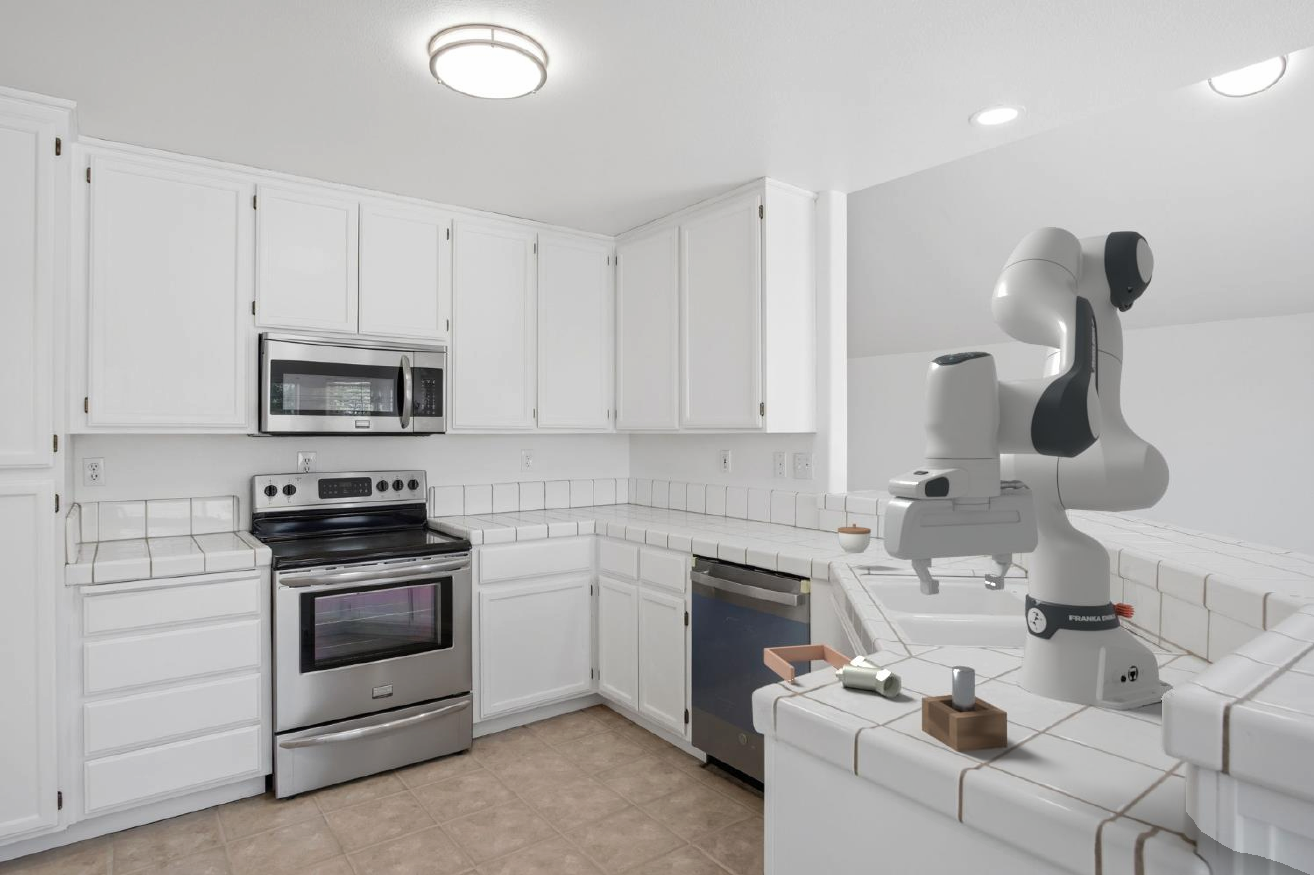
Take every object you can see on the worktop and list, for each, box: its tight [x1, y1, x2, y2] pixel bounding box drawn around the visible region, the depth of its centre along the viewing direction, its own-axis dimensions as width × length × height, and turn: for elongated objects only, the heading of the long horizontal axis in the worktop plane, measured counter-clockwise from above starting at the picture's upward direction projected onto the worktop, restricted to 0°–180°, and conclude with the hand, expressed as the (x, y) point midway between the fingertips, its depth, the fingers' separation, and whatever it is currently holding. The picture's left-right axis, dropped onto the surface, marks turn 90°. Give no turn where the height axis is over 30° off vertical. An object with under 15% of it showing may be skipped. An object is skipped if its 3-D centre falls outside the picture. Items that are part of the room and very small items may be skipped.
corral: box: [763, 643, 854, 685], centre depth 118 cm, size 11×11×2 cm
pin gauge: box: [951, 665, 976, 713], centre depth 90 cm, size 3×3×9 cm
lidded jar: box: [837, 523, 872, 554], centre depth 244 cm, size 11×11×9 cm
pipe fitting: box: [835, 655, 902, 698], centre depth 109 cm, size 8×4×7 cm
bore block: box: [921, 694, 1008, 752], centre depth 90 cm, size 7×7×4 cm
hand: (962, 591), depth 91 cm, fingers open, 8 cm apart
